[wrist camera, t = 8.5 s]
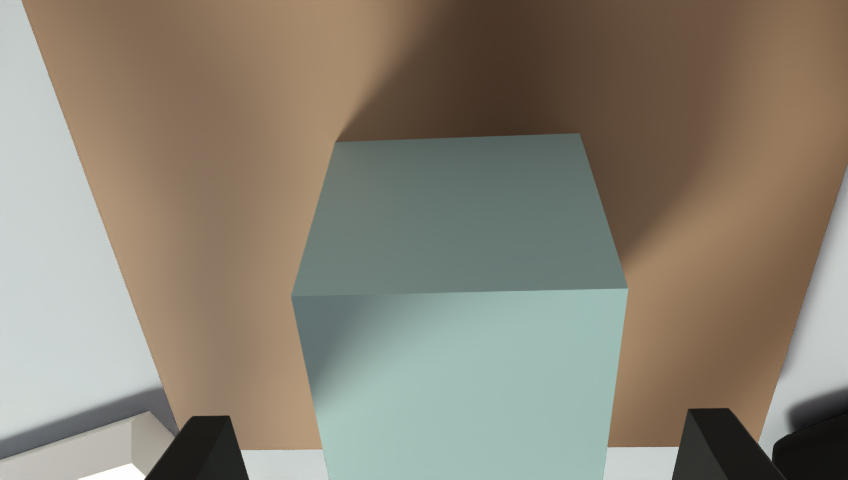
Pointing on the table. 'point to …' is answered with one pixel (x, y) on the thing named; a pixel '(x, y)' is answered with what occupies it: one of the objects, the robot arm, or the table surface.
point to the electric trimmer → (814, 452)
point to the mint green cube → (461, 310)
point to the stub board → (454, 118)
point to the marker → (95, 453)
